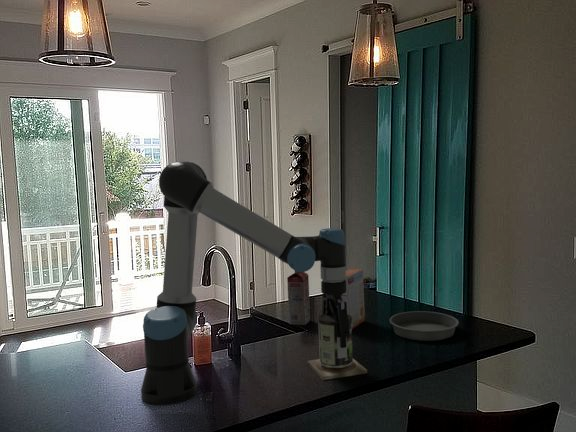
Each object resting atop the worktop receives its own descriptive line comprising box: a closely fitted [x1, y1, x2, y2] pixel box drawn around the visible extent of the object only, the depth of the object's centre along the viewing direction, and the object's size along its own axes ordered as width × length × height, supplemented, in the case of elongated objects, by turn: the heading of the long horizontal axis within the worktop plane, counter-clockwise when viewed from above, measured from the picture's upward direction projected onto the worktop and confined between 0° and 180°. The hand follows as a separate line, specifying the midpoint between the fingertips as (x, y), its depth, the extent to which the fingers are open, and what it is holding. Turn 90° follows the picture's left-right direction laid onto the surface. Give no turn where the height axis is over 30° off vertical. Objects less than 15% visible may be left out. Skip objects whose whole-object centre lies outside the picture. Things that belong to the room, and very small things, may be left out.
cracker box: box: [341, 268, 366, 330], centre depth 210 cm, size 14×6×21 cm, turn 149°
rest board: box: [307, 358, 368, 381], centre depth 167 cm, size 14×14×1 cm
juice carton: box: [286, 270, 311, 326], centre depth 217 cm, size 7×7×22 cm
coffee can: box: [317, 314, 354, 368], centre depth 166 cm, size 10×10×14 cm
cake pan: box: [389, 310, 460, 342], centre depth 200 cm, size 25×25×4 cm
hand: (335, 351), depth 167 cm, fingers closed on coffee can, 10 cm apart
